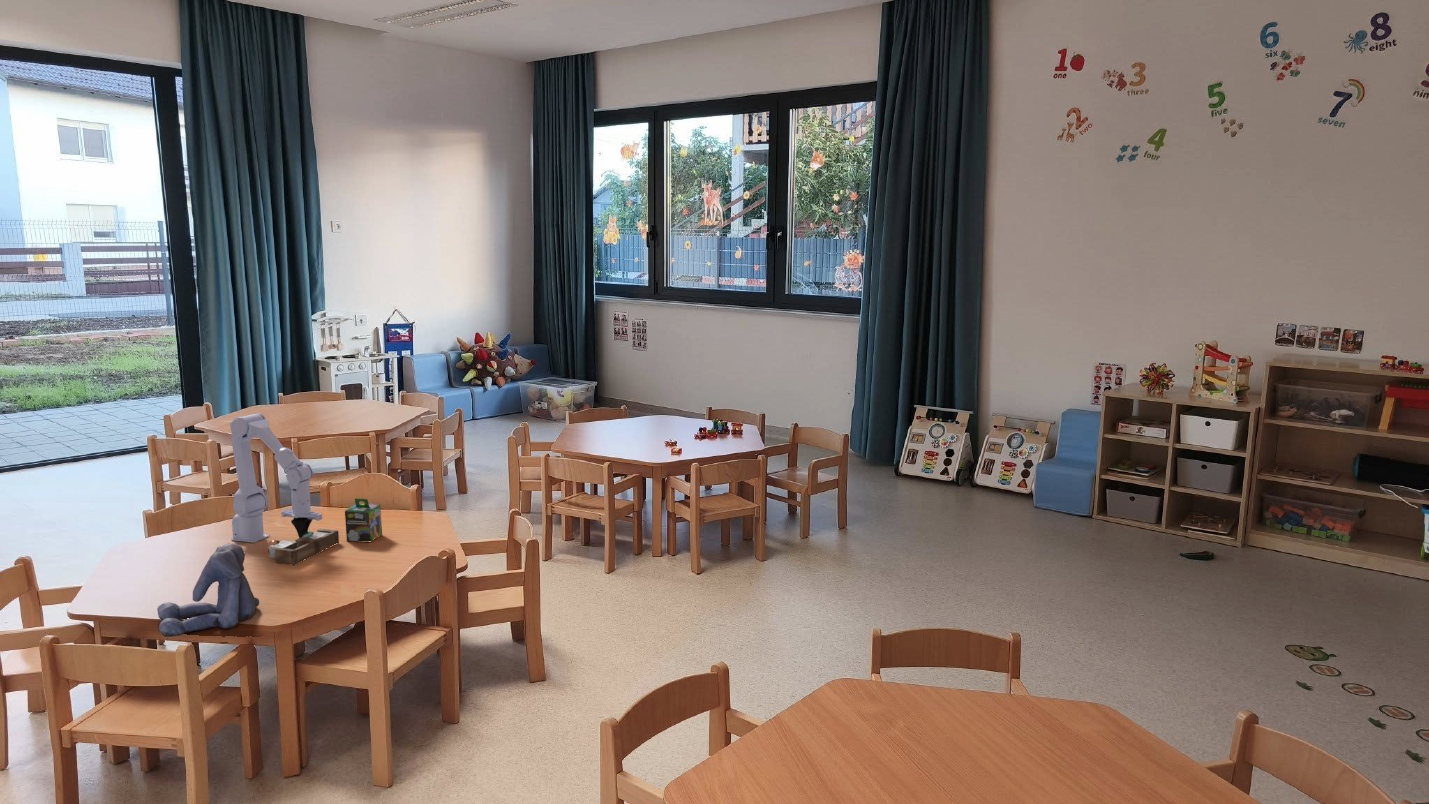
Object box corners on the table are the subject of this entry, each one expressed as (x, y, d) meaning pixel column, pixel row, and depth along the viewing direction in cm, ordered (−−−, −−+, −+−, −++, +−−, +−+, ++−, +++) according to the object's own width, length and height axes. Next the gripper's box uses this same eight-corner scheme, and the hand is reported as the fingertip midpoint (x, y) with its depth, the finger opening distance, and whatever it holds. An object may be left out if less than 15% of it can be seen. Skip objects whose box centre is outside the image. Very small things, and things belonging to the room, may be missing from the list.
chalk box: (382, 535, 329) (381, 494, 326) (370, 543, 320) (369, 502, 317) (358, 533, 330) (356, 493, 327) (345, 541, 321) (343, 500, 318)
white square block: (265, 557, 302) (264, 543, 301) (279, 550, 308) (278, 537, 307) (283, 559, 300) (282, 545, 299) (297, 552, 307) (296, 539, 306)
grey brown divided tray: (275, 562, 298) (274, 549, 297) (320, 541, 320) (320, 528, 319) (294, 565, 297) (293, 551, 296) (338, 543, 318) (338, 530, 318)
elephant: (160, 612, 257) (154, 541, 254) (260, 599, 268) (255, 531, 265) (152, 641, 239) (145, 565, 236) (259, 626, 250) (254, 553, 246)
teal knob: (299, 547, 311) (299, 534, 311) (313, 541, 318) (312, 528, 317) (317, 549, 310) (317, 536, 309) (330, 543, 316) (330, 530, 316)
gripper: (274, 501, 310) (276, 540, 312) (311, 505, 307) (313, 544, 309) (288, 496, 317) (290, 533, 319) (325, 499, 314) (327, 537, 316)
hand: (303, 538), depth 315 cm, fingers closed
